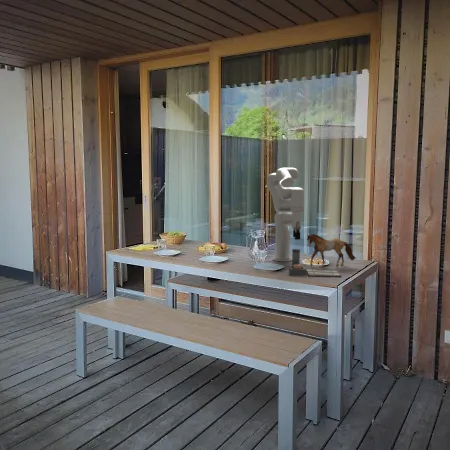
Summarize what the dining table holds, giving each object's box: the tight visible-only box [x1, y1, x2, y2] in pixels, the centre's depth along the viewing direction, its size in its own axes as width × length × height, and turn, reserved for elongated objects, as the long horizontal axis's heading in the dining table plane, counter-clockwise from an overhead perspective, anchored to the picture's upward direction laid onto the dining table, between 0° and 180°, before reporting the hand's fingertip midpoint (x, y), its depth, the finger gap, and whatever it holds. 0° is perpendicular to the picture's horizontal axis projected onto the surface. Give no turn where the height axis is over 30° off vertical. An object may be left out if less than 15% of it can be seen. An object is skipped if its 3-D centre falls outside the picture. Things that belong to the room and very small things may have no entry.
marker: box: [291, 248, 301, 266], centre depth 279 cm, size 5×5×12 cm
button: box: [293, 263, 303, 269], centre depth 268 cm, size 5×5×2 cm
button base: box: [288, 265, 308, 276], centre depth 268 cm, size 9×9×4 cm
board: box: [306, 268, 342, 278], centre depth 268 cm, size 15×18×1 cm
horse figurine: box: [306, 233, 357, 268], centre depth 286 cm, size 31×8×21 cm, turn 96°
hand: (296, 238), depth 277 cm, fingers open, 9 cm apart
